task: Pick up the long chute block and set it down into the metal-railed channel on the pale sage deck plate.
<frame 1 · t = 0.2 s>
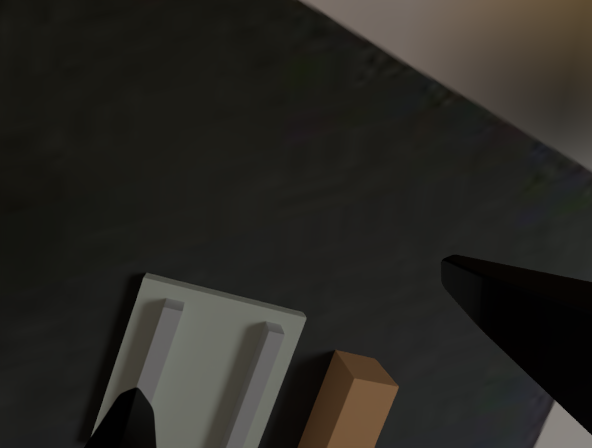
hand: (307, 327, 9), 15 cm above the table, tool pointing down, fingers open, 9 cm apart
chute block: (334, 404, 28), on the table
deck plate: (202, 372, 24), on the table
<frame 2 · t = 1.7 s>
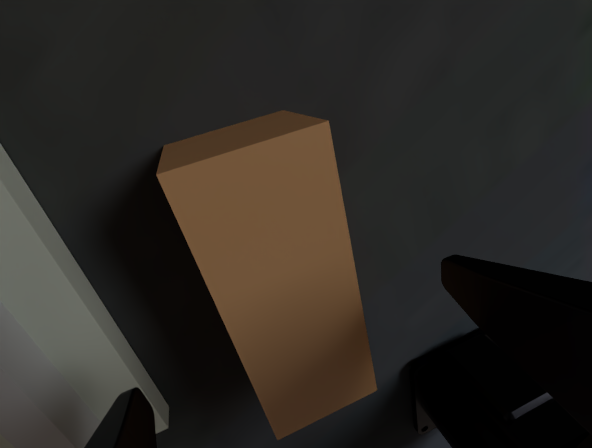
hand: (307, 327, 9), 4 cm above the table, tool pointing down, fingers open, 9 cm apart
chute block: (265, 251, 13), on the table
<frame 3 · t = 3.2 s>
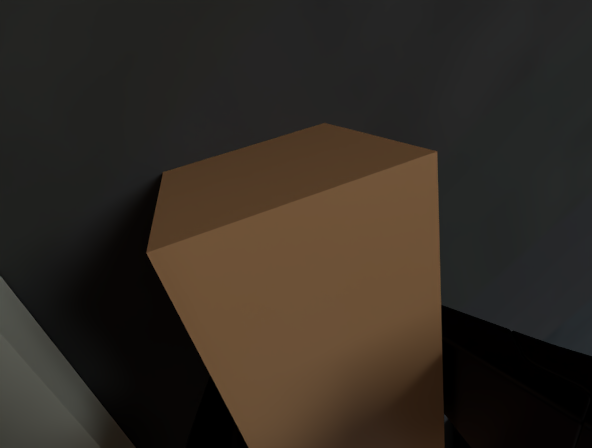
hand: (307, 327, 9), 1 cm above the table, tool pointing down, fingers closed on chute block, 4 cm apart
chute block: (295, 305, 10), on the table, touching gripper
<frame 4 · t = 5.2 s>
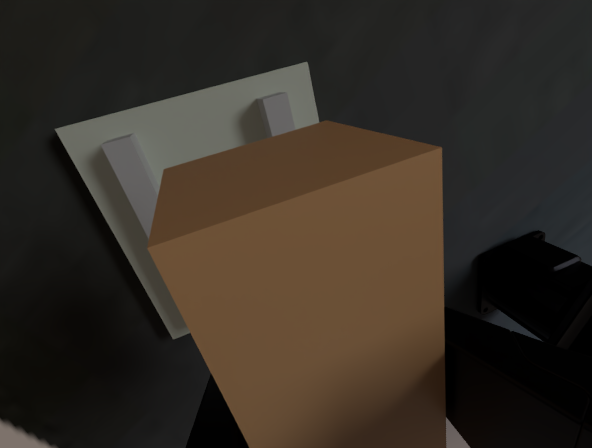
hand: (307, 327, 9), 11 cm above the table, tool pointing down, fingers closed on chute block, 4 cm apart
chute block: (295, 304, 10), point 10 cm above the table, touching gripper
deck plate: (231, 208, 19), on the table
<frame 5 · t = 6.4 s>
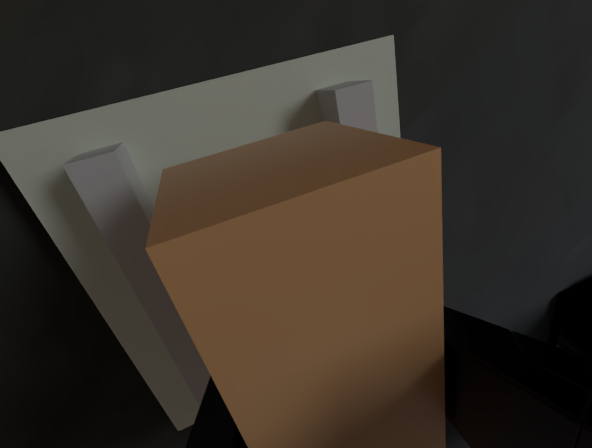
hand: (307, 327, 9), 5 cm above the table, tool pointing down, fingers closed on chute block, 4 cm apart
chute block: (295, 304, 10), point 4 cm above the table, touching gripper
deck plate: (264, 249, 13), on the table
when the fingers open (4 cm above the table, at t = 7.3 s): chute block drops 2 cm, resting on deck plate.
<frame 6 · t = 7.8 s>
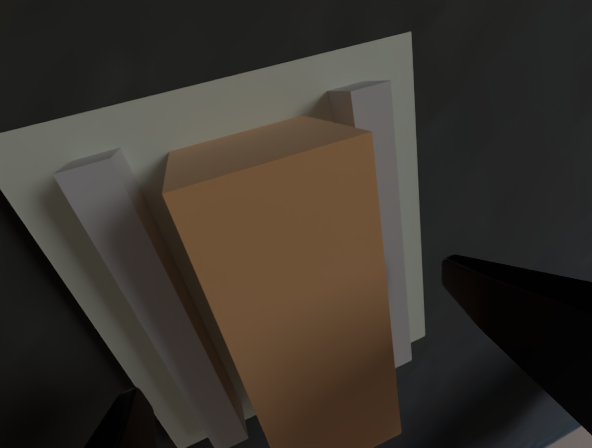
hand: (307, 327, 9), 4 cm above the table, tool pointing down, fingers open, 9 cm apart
chute block: (278, 271, 11), point 1 cm above the table, touching deck plate
deck plate: (270, 259, 12), on the table
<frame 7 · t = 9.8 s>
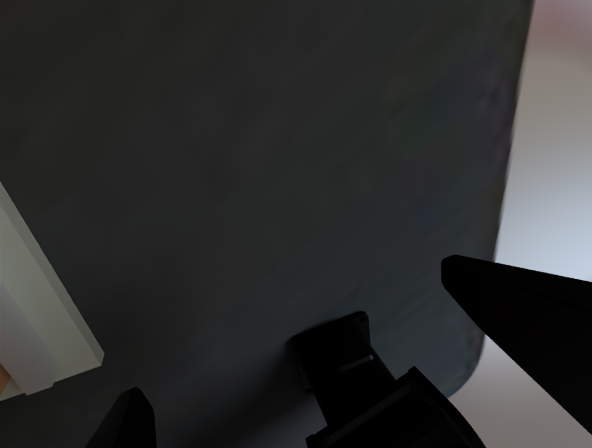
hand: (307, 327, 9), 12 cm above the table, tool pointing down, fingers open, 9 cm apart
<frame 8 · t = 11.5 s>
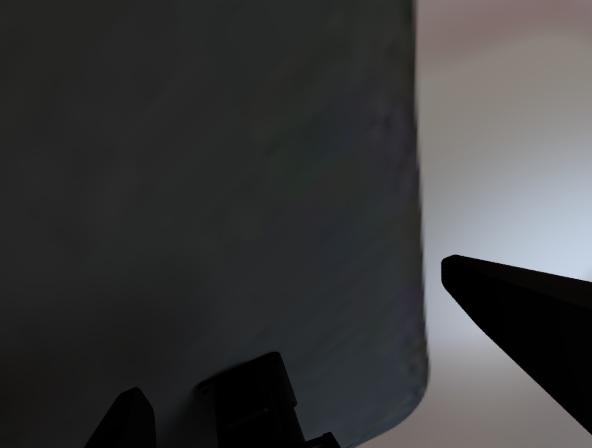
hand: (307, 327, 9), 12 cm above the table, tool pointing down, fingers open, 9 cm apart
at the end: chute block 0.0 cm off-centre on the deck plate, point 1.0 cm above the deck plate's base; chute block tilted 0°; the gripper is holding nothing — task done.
